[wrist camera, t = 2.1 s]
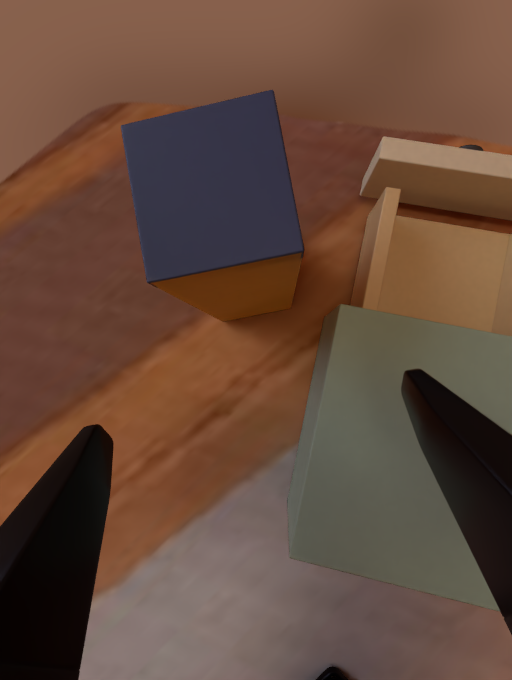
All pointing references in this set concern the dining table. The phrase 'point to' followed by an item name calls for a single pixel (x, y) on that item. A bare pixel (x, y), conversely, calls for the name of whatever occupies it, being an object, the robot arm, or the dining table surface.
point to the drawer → (437, 236)
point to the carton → (217, 206)
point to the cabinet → (389, 452)
